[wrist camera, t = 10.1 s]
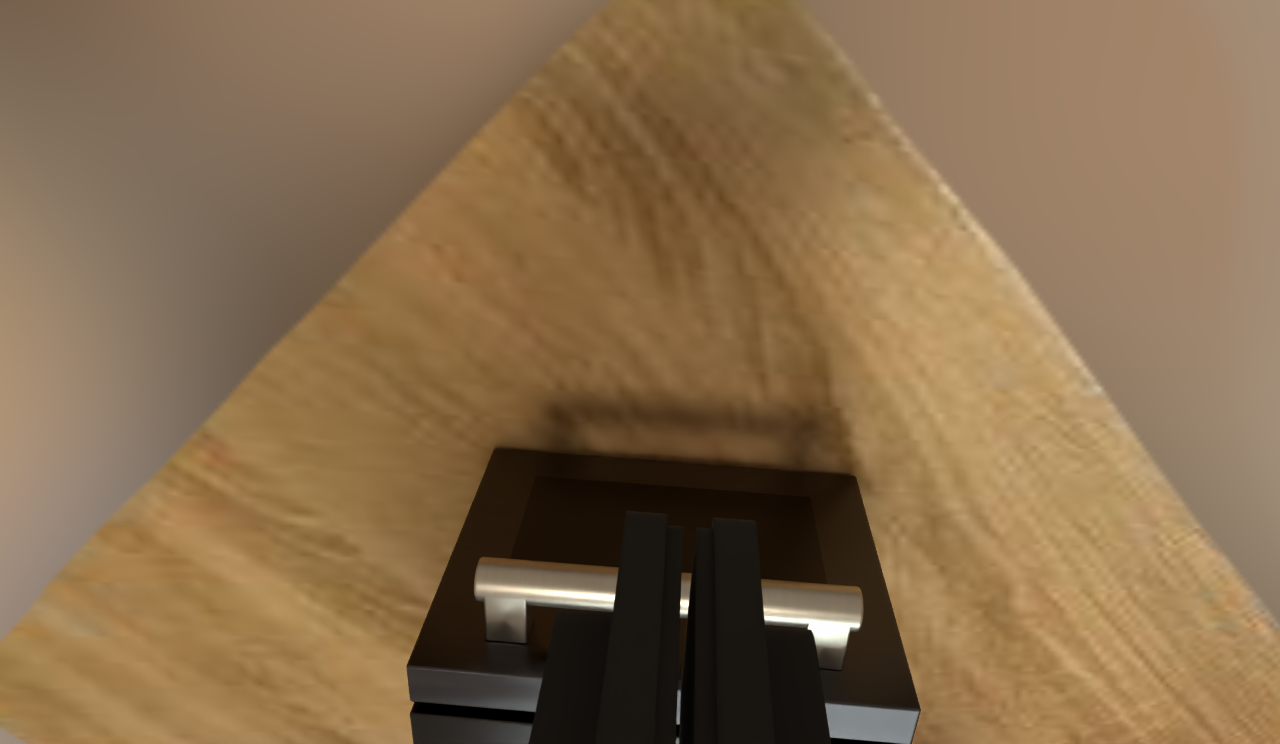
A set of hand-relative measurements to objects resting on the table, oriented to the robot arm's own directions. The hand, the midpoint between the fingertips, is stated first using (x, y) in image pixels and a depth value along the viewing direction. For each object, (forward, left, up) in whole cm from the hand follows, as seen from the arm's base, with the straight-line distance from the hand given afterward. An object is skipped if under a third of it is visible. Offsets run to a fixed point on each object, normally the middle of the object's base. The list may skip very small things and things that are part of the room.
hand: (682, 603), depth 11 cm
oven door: (+13, 0, -23) cm, 26 cm away
